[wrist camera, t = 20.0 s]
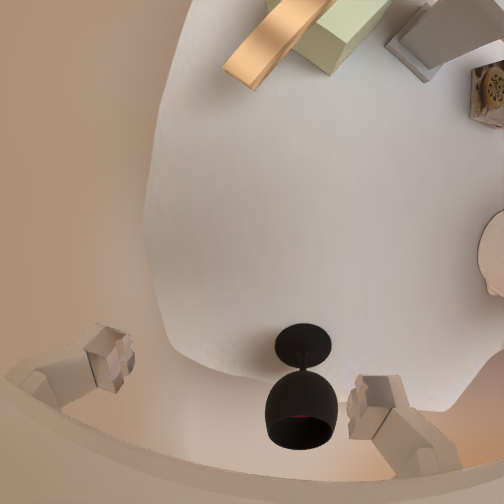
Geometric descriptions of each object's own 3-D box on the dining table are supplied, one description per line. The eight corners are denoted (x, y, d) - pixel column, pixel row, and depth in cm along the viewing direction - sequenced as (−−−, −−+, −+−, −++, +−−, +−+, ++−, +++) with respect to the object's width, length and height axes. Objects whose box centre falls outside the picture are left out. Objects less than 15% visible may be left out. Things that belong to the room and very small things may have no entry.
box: (330, 76, 37) (346, 43, 22) (274, 37, 36) (261, -10, 21) (375, 26, 33) (407, -19, 18) (321, -11, 32) (328, -67, 17)
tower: (424, 83, 35) (531, 45, 11) (384, 46, 34) (462, -31, 10) (458, 40, 30) (556, -6, 6) (421, 6, 30) (499, -67, 6)
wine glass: (318, 372, 55) (320, 457, 36) (267, 359, 55) (252, 444, 37) (340, 331, 51) (353, 418, 33) (285, 316, 52) (275, 403, 33)
